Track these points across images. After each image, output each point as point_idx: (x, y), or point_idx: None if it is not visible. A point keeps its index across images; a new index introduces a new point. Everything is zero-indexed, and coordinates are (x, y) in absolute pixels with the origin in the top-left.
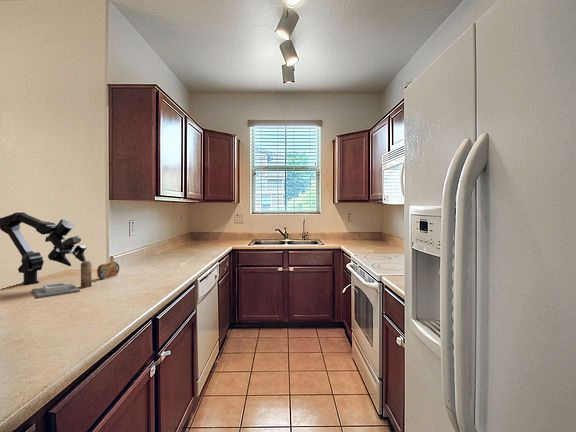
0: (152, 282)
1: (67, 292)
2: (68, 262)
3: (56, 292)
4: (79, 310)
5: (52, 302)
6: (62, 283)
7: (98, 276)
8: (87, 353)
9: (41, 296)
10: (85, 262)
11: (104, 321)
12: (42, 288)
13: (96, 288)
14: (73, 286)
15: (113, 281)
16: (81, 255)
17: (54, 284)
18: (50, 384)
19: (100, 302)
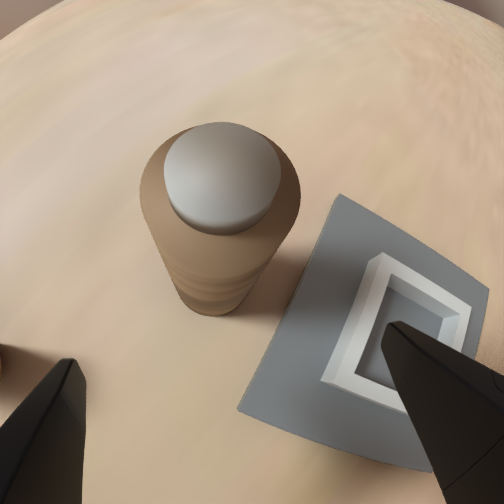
0: (60, 48)
1: (393, 228)
2: (438, 342)
3: (432, 265)
4: (439, 61)
5: (470, 174)
6: (353, 373)
7: (1, 372)
8: (465, 10)
9: (477, 283)
10: (262, 151)
11: (425, 11)
12: (407, 446)
13: None
14: (299, 312)
15: (36, 221)
16: (22, 493)
17: (395, 391)
18: (490, 21)
19: (378, 43)
